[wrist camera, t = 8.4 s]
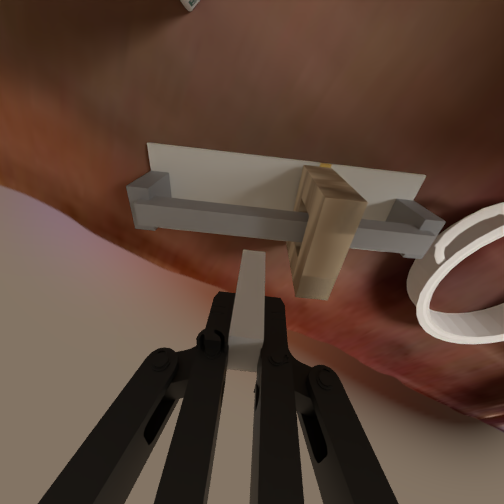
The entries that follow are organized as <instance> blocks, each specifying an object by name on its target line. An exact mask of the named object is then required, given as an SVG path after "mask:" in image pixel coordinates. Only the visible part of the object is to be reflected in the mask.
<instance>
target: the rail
mask: <svg viewBox="0 0 504 504" xmlns="http://www.w3.org/2000/svg"><path fill="white" fill-rule="evenodd" d="M147 147H148V154H149V160H150V167H151V171H150V172H148V173H146V174H145V175H143V176H141V177H140V178H138V179H137V180H135V181H133V182H132V183H130V184H128V185H127V186H126V189H127V193H128V198H129V202H130V207H131V211H132V216H133V220H134V225H135V229H143V230H153V231H155V230H156V229H157V228H158V227H160V228H168V229H177V230H186V231H196V232H205V233H214V234H224V235H233V236H242V237H252V238H261V239H270V240H280V241H292V242H301V243H302V241H303V237H304V234H305V230H306V226H307V222H308V219H309V214H308V213H304V212H295V211H293V210H294V205H295V201H296V196H297V192H298V187H299V183H300V178H301V174H302V169H303V165H310V166H318V167H327V168H332V169H333V170H334V171H335V172H337V173H338V174H339V175H340V176H341V177H342V178H343V179H344V180H345V181H346V182H347V183H348V184H349V185H350V186H351V187H352V188H353V189H355V190H356V191H357V192H358V193H359V194H360V195H361V196H362V197H363V198H364V199H365V200H366V201H367V202H368V204H367V207H366V209H365V211H364V214H363V216H362V219H361V221H360V223H359V226H358V228H357V231H356V233H355V235H354V238H353V240H352V243H351V245H350V247H349V248H354V249H363V250H373V251H382V252H394V253H400V254H401V256H402V257H405V258H415V259H422V258H423V256H424V255H425V254H426V252H427V251H428V249H429V248H430V246H431V245H432V243H433V242H434V240H435V239H436V237H437V235H438V234H439V232H440V231H441V229H442V227H443V226H444V224H445V223H446V221H444V220H443V219H441V218H440V217H438V216H437V215H435V214H433V213H432V212H430V211H429V210H427V209H426V208H424V207H423V206H421V205H420V204H418V203H417V202H415V201H413V200H414V198H415V196H416V195H417V193H418V191H419V189H420V187H421V185H422V183H423V181H424V180H425V178H426V175H424V174H415V173H407V172H398V171H390V170H381V169H373V168H364V167H356V166H347V165H339V164H330V163H321V162H313V161H304V160H296V159H287V158H279V157H270V156H262V155H253V154H245V153H236V152H227V151H219V150H210V149H202V148H193V147H185V146H176V145H168V144H159V143H151V142H148V143H147Z"/></svg>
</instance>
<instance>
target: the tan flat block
mask: <svg viewBox="0 0 504 504" xmlns="http://www.w3.org/2000/svg"><path fill="white" fill-rule="evenodd" d="M367 204H368V202H367V201H366V200H365V199H364V198H363V197H362V196H361V195H360V194H359V193H358V192H357V191H356V190H355V189H353V188H352V187H351V186H350V185H349V184H348V183H347V182H346V181H345V180H344V179H343V178H342V177H341V176H340V175H339V174H338V173H337V172H335V171H334V170H333V169H332V168H327V167H318V166H310V165H303V169H302V174H301V178H300V183H299V187H298V192H297V196H296V201H295V205H294V210H293V211H295V212H304V213H308V214H309V219H308V222H307V226H306V230H305V234H304V237H303V241H302V243H301V242H292V241H286V244H287V250H288V256H289V262H290V268H291V273H292V279H293V285H294V291H295V297H301V298H311V299H321V300H328V298H329V295H330V293H331V290H332V288H333V286H334V283H335V281H336V279H337V276H338V274H339V271H340V269H341V267H342V264H343V262H344V259H345V257H346V255H347V252H348V250H349V247H350V245H351V243H352V240H353V238H354V235H355V233H356V231H357V228H358V226H359V223H360V221H361V219H362V216H363V214H364V211H365V209H366V207H367Z"/></svg>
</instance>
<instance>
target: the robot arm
mask: <svg viewBox="0 0 504 504" xmlns="http://www.w3.org/2000/svg"><path fill="white" fill-rule="evenodd" d="M286 330H287V329H286V317H285V305H284V303H283V302H282V300H281V298H276V297H267V296H265V252H261V251H252V250H244V249H243V254H242V260H241V266H240V272H239V278H238V283H237V289H236V293H229V292H220V291H219V292H218V294H217V295H216V296H215V297H214V299H213V303H212V307H211V310H210V314H209V317H208V321H207V325H206V328H205V329H204V330H202V331H201V332H200V333H199V334H198V336H197V338H196V340H197V345H196V346H195V347H193V348H192V349H188V350H184V351H180V352H175V351H174V350H172V349H170V348H159V349H157V350H155V351H153V352H152V353H151V354H150V355H149V356H148V357H147V358H146V359H145V360H144V362H143V363H142V364H141V366H140V367H139V368H138V370H137V371H136V372H135V374H134V375H133V377H132V378H131V379H130V381H129V382H128V383H127V385H126V386H125V387H124V389H123V390H122V391H121V393H120V394H119V395H118V397H117V398H116V399H115V401H114V402H113V403H112V405H111V406H110V407H109V409H108V410H107V411H106V413H105V414H104V416H103V417H102V418H101V419H100V421H99V422H98V424H97V425H96V426H95V428H94V429H93V430H92V432H91V433H90V434H89V436H88V437H87V438H86V440H85V441H84V442H83V444H82V445H81V446H80V448H79V449H78V450H77V452H76V453H75V455H74V456H73V457H72V458H71V460H70V461H69V462H68V464H67V465H66V466H65V468H64V469H63V471H62V472H61V473H60V475H59V476H58V477H57V479H56V480H55V481H54V483H53V484H52V485H51V487H50V488H49V489H48V491H47V492H46V493H45V495H44V496H43V497H42V499H41V500H40V501H39V503H38V504H124V503H125V501H126V499H127V497H128V496H129V494H130V492H131V490H132V488H133V486H134V484H135V482H136V480H137V478H138V477H139V475H140V473H141V471H142V469H143V467H144V465H145V463H146V461H147V459H148V458H149V456H150V453H151V452H152V450H153V448H154V446H155V444H156V442H157V440H158V439H159V437H160V435H161V433H162V431H163V429H164V427H165V425H166V423H167V422H168V420H169V418H170V416H171V414H172V412H173V410H174V408H175V406H176V404H177V403H178V401H179V399H180V398H183V397H184V398H183V402H182V405H181V409H180V413H179V416H178V420H177V423H176V427H175V430H174V434H173V437H172V441H171V444H170V448H169V452H168V455H167V459H166V462H165V466H164V469H163V473H162V477H161V480H160V483H159V487H158V490H157V494H156V498H155V501H154V504H207V500H208V493H209V487H210V480H211V473H212V466H213V460H214V453H215V447H216V440H217V433H218V427H219V420H220V413H221V407H222V400H223V393H224V387H225V378H226V371H227V369H232V370H240V371H249V372H257V380H256V385H255V389H254V393H255V404H254V424H253V446H252V465H251V487H250V504H304V496H303V485H302V472H301V461H300V449H299V439H298V427H297V415H296V411H297V414H298V417H299V421H300V424H301V428H302V431H303V435H304V438H305V442H306V445H307V449H308V452H309V455H310V459H311V462H312V466H313V469H314V472H315V476H316V479H317V483H318V486H319V490H320V493H321V497H322V500H323V504H398V502H397V500H396V497H395V495H394V493H393V491H392V489H391V487H390V485H389V483H388V480H387V479H386V476H385V474H384V472H383V470H382V468H381V466H380V464H379V461H378V459H377V457H376V455H375V453H374V451H373V449H372V447H371V444H370V442H369V440H368V438H367V436H366V434H365V432H364V430H363V428H362V425H361V423H360V421H359V419H358V417H357V415H356V413H355V411H354V409H353V406H352V404H351V402H350V400H349V398H348V396H347V394H346V392H345V389H344V387H343V385H342V383H341V381H340V379H339V377H338V376H337V374H336V373H335V372H334V371H333V370H332V369H331V368H329V367H327V366H325V365H317V366H314V367H313V368H312V367H310V366H308V365H305V364H303V363H301V362H299V361H298V360H296V359H295V358H294V357H293V356H292V355H291V353H290V351H289V349H288V342H287V331H286Z"/></svg>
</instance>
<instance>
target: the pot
mask: <svg viewBox="0 0 504 504" xmlns="http://www.w3.org/2000/svg"><path fill="white" fill-rule="evenodd" d="M502 236H504V202H502V203H499V204H496V205H492V206H489V207H486V208H482V209H481V210H479V211H477V212H475V213H473V214H470V215H468V216H467V217H465V218H463V219H461V220H460V221H458V222H456V223H454V224H453V225H451V226H450V227H448V228H447V229H446V230H444V231H443V232H442V233H440V234H439V235H438V236H437V237H436V239H435V240H434V242H433V243H432V245H431V246H430V248H429V249H428V251H427V252H426V254H425V255H424V256H423V258H422V259H415V261H414V263H413V265H412V267H411V269H410V271H409V274H408V278H407V292H408V295H409V297H410V299H411V301H412V302H413V303H414V305H415V306H416V316H417V318H418V321H419V324H420V325H421V326H422V328H423V329H424V330H425V331H426V332H427V333H429V334H430V335H432V336H434V337H435V338H438V339H441V340H444V341H447V342H453V343H459V344H484V343H494V342H500V341H504V303H502V304H500V305H497V306H494V307H491V308H487V309H484V310H479V311H474V312H468V313H442V312H436V311H433V310H430V309H429V303H430V300H431V297H432V294H433V292H434V290H435V289H436V287H437V285H438V284H439V282H440V281H441V280H442V279H443V278H444V277H445V276H446V274H447V273H448V272H449V271H450V270H451V269H452V268H453V267H455V266H456V265H457V264H458V263H460V262H461V261H462V260H463V259H464V258H466V257H467V256H469V255H470V254H472V253H473V252H475V251H476V250H478V249H480V248H481V247H483V246H485V245H487V244H489V243H491V242H493V241H495V240H497V239H499V238H500V237H502Z"/></svg>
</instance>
